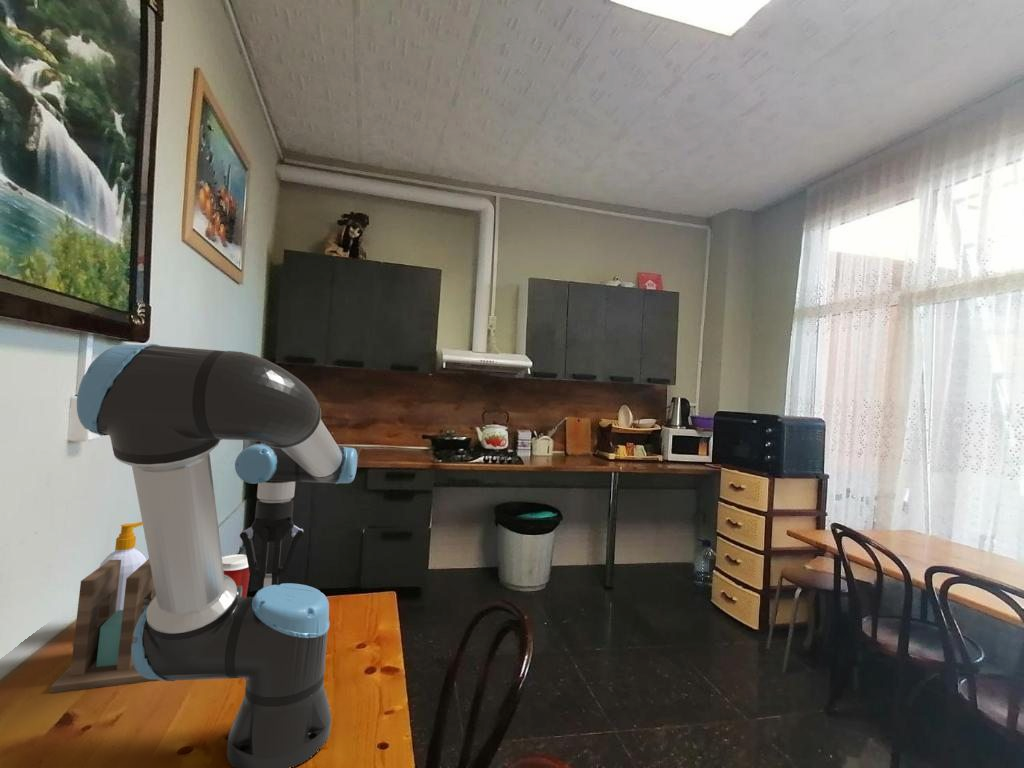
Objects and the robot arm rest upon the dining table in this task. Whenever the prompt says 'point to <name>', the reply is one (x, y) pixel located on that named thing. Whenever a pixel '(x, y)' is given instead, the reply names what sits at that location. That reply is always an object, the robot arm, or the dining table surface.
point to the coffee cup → (237, 570)
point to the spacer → (109, 640)
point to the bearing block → (92, 614)
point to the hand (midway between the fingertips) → (266, 605)
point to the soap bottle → (126, 558)
